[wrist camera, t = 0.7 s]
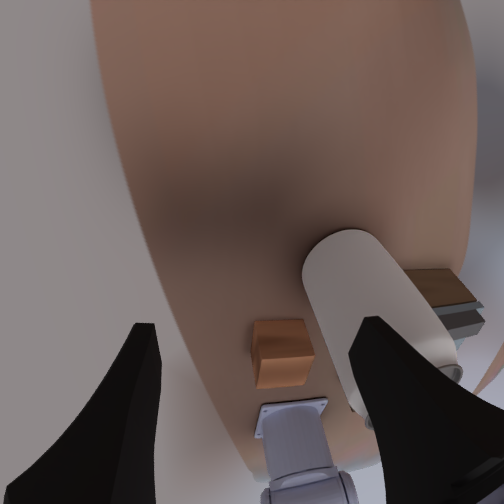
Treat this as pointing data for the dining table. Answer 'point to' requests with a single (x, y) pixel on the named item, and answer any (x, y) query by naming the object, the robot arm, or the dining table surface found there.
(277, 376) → the block
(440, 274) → the brown rectangular box
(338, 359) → the can
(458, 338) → the cover
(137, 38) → the dining table surface
